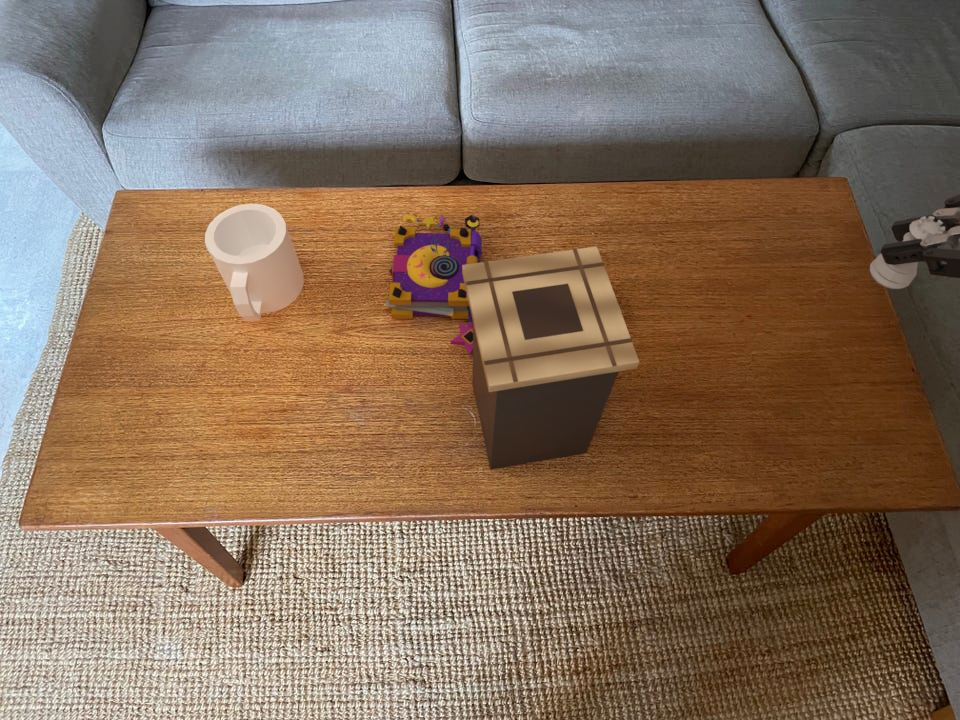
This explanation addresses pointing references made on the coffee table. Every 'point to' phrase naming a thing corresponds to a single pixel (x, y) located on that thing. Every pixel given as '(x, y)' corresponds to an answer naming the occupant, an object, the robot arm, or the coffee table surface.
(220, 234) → the mug
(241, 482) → the coffee table surface
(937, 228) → the rook chess piece
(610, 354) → the game board
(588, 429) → the board stand
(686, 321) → the coffee table surface
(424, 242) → the book
